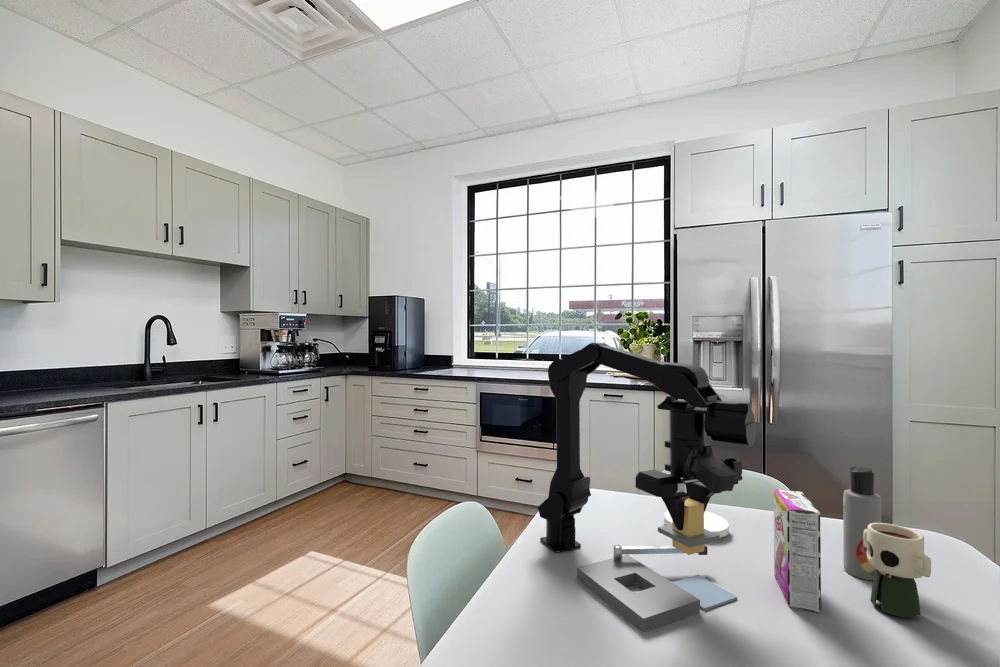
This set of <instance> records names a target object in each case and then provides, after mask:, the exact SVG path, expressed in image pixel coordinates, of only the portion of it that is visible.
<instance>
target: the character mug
mask: <svg viewBox="0 0 1000 667" xmlns="http://www.w3.org/2000/svg"><path fill="white" fill-rule="evenodd" d="M863 543H864V546H865V547H866V548H867V559H868V561H869V563H870V564H871V566H872V567H873V568H875V569H877V570H876V571H875V574H874V579H873V580H872V586H871V590H870V591H871V594H870V599H869V600H870V602H871V603H872V605H874V606H875V607H877V606H876V605H877V601H878V603H880V610H881V611H883V612H886V613H887V614H890V615H893V616H897V617H901V618H904V619H905V618H915V617H919V616H921V613H922V612H921V605H920V604H921V603H920V597H919V590H918V586H917V582H916V580H915V579H920V578H922V577H924V578H930V577H931V575H932V559H931V558H930V557H929V556H928V555H926V554H925V537H924V536H923V534H922V533H920V532H918V531H916V530H913V529H910V528H908V527H905V526H902V525H901V526H900V525H897V524H892V523H885V522H884V523H883V522H881V523H871V524H869V525H868V527H867V529H865V530H864V532H863Z"/></svg>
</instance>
